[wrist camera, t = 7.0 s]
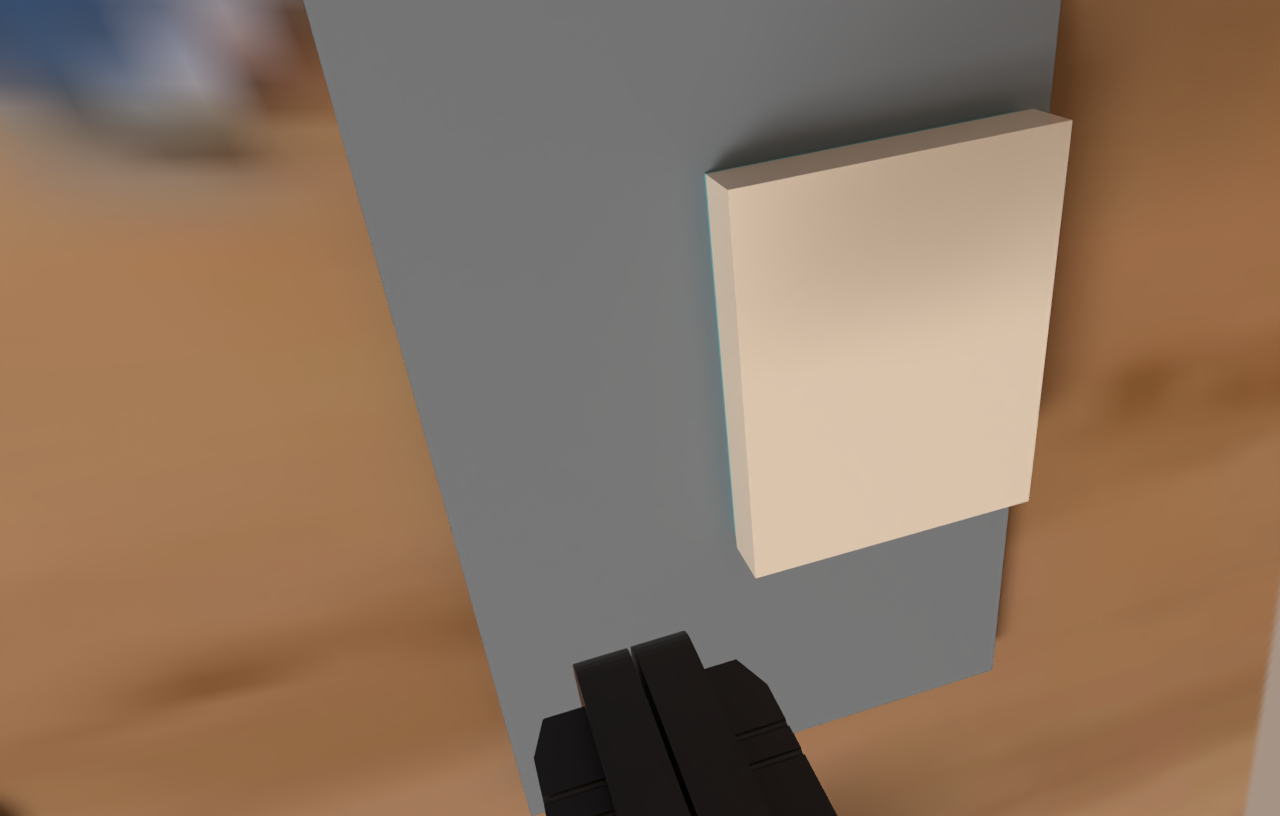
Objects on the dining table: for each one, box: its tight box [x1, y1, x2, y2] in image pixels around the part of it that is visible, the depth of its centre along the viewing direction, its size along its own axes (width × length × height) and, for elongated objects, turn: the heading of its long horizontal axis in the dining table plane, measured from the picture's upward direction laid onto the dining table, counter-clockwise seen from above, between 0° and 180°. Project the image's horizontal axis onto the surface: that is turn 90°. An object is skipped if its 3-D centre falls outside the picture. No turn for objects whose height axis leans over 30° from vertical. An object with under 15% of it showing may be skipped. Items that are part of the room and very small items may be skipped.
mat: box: [303, 0, 1061, 816], centre depth 21 cm, size 22×14×1 cm, turn 7°
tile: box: [704, 109, 1073, 578], centre depth 20 cm, size 9×2×7 cm
